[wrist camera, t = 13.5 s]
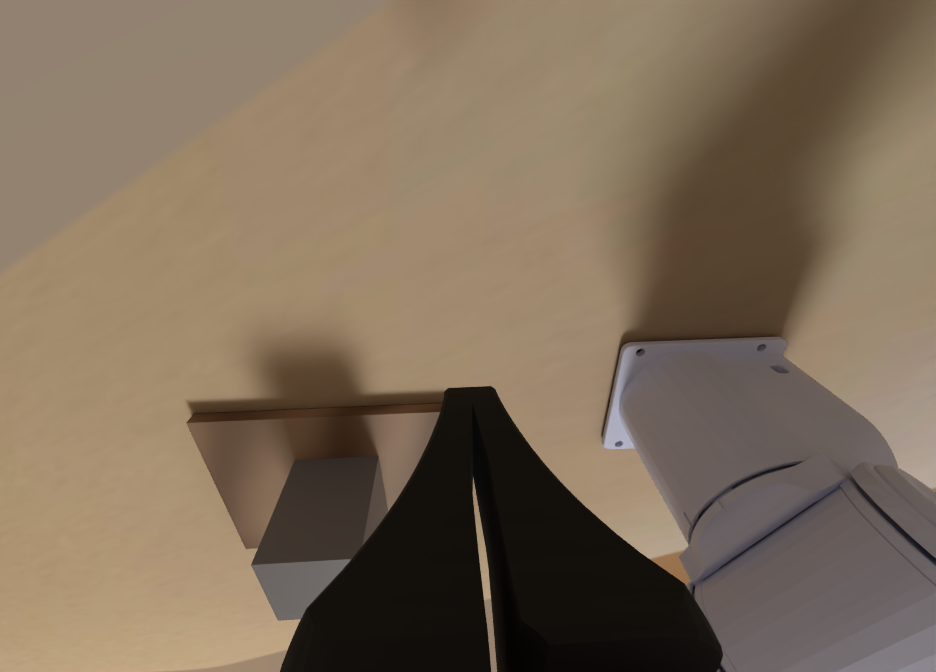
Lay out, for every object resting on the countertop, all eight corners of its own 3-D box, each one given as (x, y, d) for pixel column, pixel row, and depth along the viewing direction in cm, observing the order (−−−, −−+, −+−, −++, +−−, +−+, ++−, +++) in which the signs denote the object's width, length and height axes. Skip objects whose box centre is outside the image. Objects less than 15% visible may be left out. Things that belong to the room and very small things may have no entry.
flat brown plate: (463, 402, 25) (468, 479, 20) (466, 526, 31) (470, 609, 26) (193, 413, 24) (127, 496, 19) (250, 538, 30) (211, 625, 25)
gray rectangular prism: (378, 456, 25) (359, 558, 20) (388, 509, 28) (373, 614, 22) (294, 460, 25) (251, 564, 20) (311, 514, 28) (278, 620, 22)
